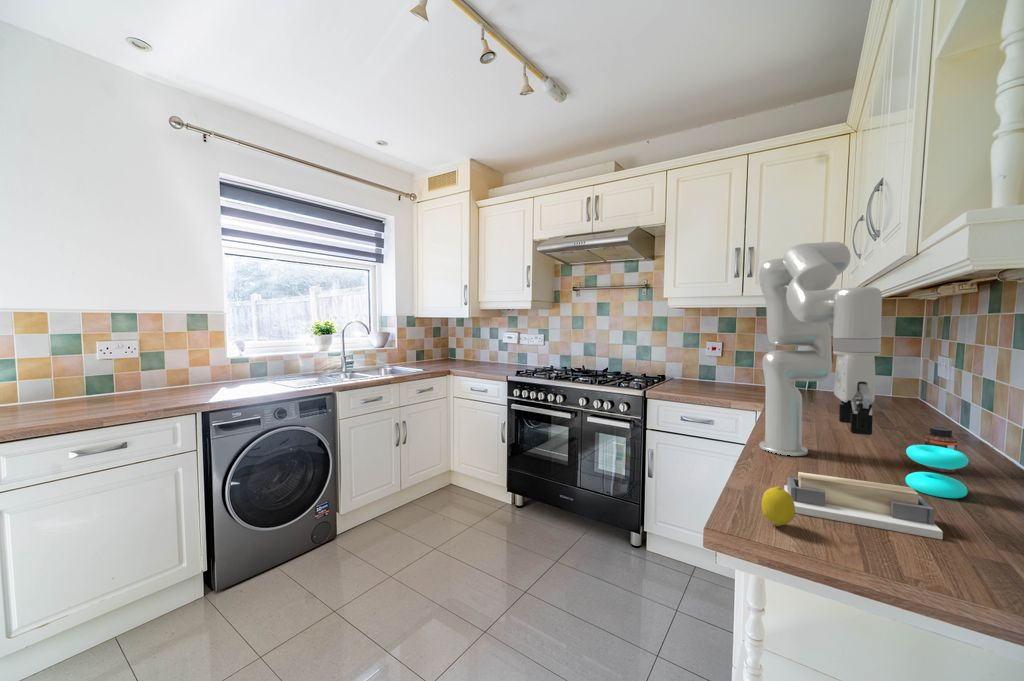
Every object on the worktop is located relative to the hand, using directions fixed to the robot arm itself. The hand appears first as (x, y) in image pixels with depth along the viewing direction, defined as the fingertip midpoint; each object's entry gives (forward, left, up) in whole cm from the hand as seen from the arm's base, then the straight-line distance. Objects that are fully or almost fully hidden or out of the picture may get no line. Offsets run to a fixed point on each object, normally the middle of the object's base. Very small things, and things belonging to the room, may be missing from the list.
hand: (854, 427), depth 83 cm
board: (0, 0, -18) cm, 18 cm away
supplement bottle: (-41, +27, -18) cm, 52 cm away
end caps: (0, 0, -17) cm, 17 cm away
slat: (0, 0, -17) cm, 17 cm away
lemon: (+14, -14, -18) cm, 27 cm away
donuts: (-22, +20, -18) cm, 35 cm away
